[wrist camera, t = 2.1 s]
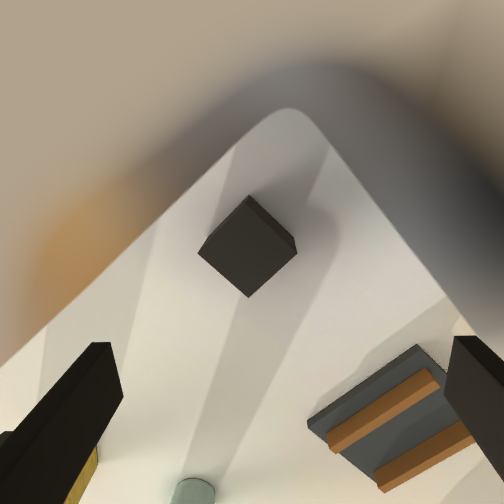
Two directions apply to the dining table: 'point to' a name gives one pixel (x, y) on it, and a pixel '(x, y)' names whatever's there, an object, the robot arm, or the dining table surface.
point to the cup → (193, 493)
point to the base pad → (394, 421)
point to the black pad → (248, 247)
